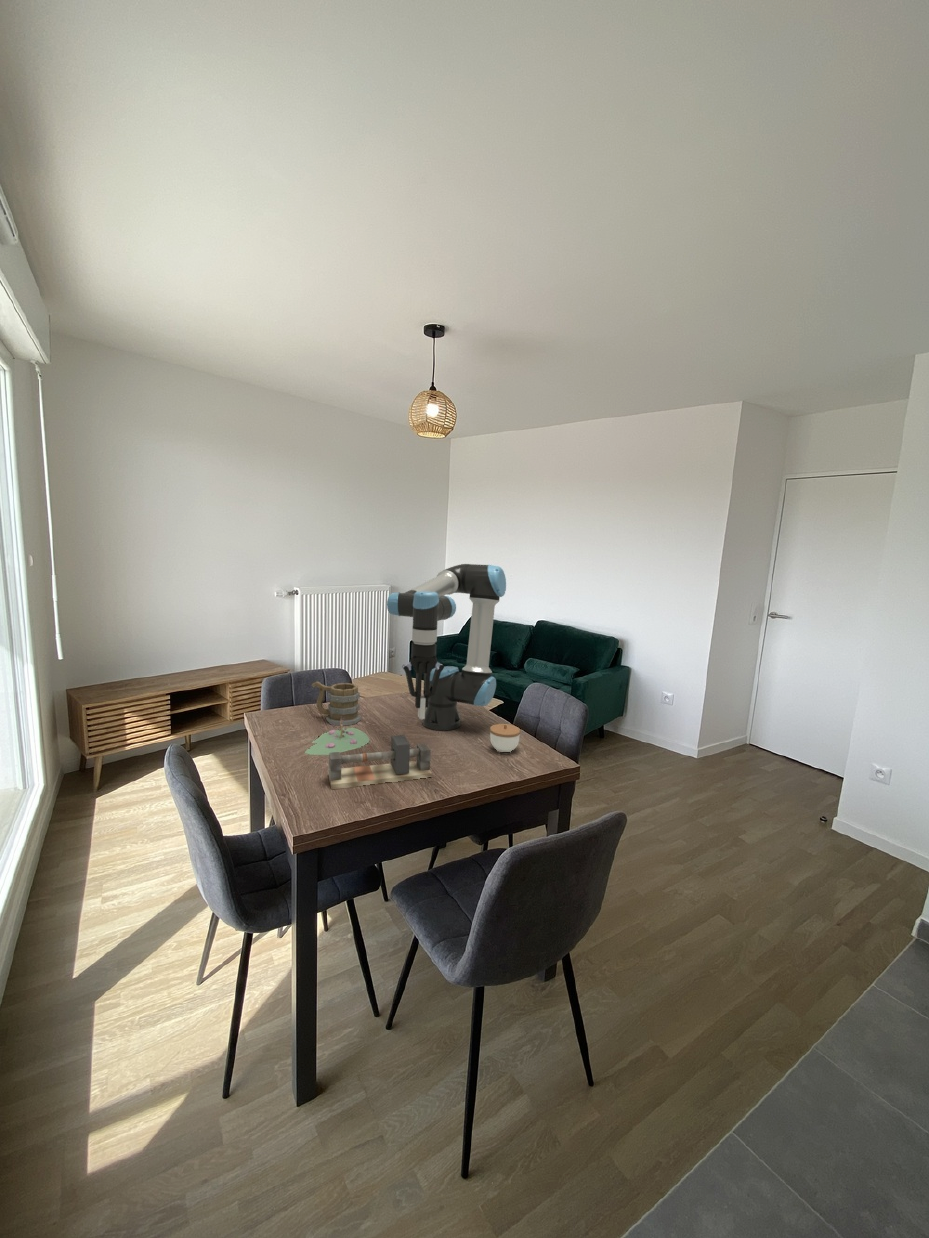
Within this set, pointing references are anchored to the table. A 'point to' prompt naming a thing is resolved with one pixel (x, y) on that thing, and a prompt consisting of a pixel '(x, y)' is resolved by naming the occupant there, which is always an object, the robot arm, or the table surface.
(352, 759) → the grey sliding block rail
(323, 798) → the table surface
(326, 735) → the plant
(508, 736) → the lidded jar
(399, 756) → the collar
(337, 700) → the tankard
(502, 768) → the table surface
